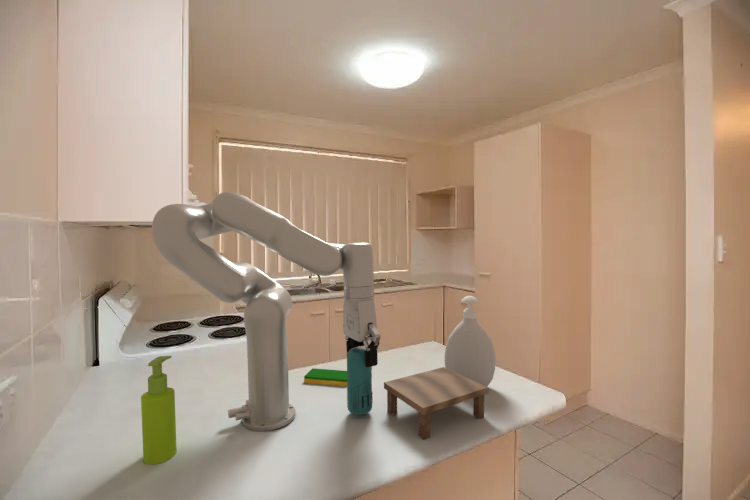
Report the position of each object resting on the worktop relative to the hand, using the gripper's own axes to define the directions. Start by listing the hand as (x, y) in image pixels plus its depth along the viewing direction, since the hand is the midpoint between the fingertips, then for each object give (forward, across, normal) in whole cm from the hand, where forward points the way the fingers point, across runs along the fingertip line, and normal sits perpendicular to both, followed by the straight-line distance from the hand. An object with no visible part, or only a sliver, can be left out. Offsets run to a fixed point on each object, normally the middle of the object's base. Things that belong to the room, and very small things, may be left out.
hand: (361, 360), depth 90 cm
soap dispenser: (+13, -7, -44) cm, 46 cm away
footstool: (+14, +10, +15) cm, 23 cm away
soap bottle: (+15, +2, +35) cm, 38 cm away
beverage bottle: (+14, 0, -1) cm, 14 cm away
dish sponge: (+14, -24, +1) cm, 28 cm away
